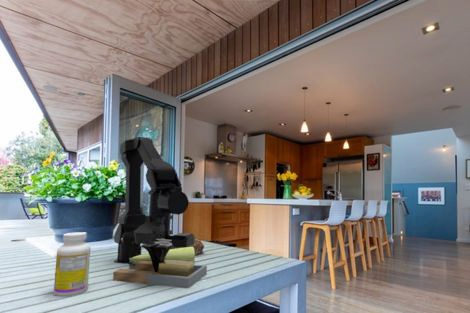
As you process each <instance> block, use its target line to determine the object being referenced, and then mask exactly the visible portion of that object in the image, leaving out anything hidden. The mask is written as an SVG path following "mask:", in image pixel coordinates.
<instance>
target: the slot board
mask: <svg viewBox="0 0 470 313" xmlns="http://www.w3.org/2000/svg"><path fill="white" fill-rule="evenodd" d="M134 264H135V265H134V267H135V268H134V269H127V268H125V269H124V268H119V269H117V270H115V271H113V276H112V281H114V282H122V283H123V282H124V283H132V284H144V285H148V284H147V274H149V273H150V274H159V272H155V271H154V268H153V264H152V261H139V262H136V263H134Z"/></svg>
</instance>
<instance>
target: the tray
mask: <svg viewBox="0 0 470 313" xmlns="http://www.w3.org/2000/svg"><path fill="white" fill-rule="evenodd" d="M207 269H208V266H207V265H203V264H194V273H192V274H191V275H189V276H188V277H184V276H173V275H161V274H150V273H149V274H147V284H146V285H153V286H163V287H172V288H174V287H175V288H182V289H184V288H185V289H190V288H191V287H192V286H194V285H195V284H196V283H197V282H198V281H199V280H201V279H202V278H203V277H205V276H206V275H207V271H208V270H207Z"/></svg>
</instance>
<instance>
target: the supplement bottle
mask: <svg viewBox="0 0 470 313" xmlns="http://www.w3.org/2000/svg"><path fill="white" fill-rule="evenodd" d="M87 236H88V234H87V232H84V231H83V232H82V231H79V232H75V231H74V232H67V233H64V234H63V235H62V240H63V244H62V245H61V246H59V247H58V248H57V250H56V260H55V261H56V262H55V272H54V282H53V294H54V295H55V296H57V297H70V296H76V295H80V294H82V293H84V292H86V291H87V290H88V287H89V277H90V276H89V275H90V274H89V273H90V263H91V262H90V260H91V259H90V258H91V246H90V245H89V244H88V243H86V240H87Z"/></svg>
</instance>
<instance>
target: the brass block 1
mask: <svg viewBox="0 0 470 313" xmlns="http://www.w3.org/2000/svg"><path fill="white" fill-rule="evenodd" d="M177 262H178V260H165V261H163V262H160V263H159V274H161V275H173V264H175V263H177Z"/></svg>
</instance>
